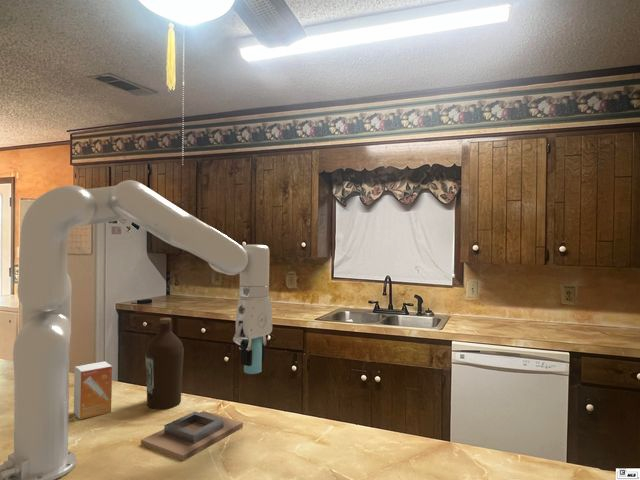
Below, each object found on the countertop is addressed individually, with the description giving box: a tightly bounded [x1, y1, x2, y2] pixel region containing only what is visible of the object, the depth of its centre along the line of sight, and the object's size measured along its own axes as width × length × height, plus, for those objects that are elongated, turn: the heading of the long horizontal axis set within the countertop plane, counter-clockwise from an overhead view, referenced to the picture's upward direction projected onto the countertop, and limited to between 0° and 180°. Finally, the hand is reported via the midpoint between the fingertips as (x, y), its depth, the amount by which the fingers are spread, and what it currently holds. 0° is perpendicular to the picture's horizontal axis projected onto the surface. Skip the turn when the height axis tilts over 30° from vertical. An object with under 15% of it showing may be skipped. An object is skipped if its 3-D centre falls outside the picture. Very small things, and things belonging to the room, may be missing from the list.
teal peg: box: [243, 337, 263, 375], centre depth 111 cm, size 4×4×9 cm
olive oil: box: [144, 317, 185, 410], centre depth 126 cm, size 11×11×25 cm
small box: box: [73, 361, 113, 420], centre depth 119 cm, size 8×6×13 cm
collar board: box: [140, 410, 244, 462], centre depth 106 cm, size 20×14×3 cm
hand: (252, 361), depth 111 cm, fingers closed on teal peg, 4 cm apart
